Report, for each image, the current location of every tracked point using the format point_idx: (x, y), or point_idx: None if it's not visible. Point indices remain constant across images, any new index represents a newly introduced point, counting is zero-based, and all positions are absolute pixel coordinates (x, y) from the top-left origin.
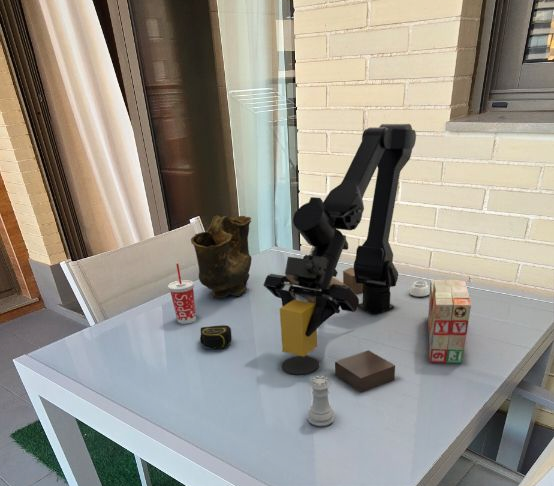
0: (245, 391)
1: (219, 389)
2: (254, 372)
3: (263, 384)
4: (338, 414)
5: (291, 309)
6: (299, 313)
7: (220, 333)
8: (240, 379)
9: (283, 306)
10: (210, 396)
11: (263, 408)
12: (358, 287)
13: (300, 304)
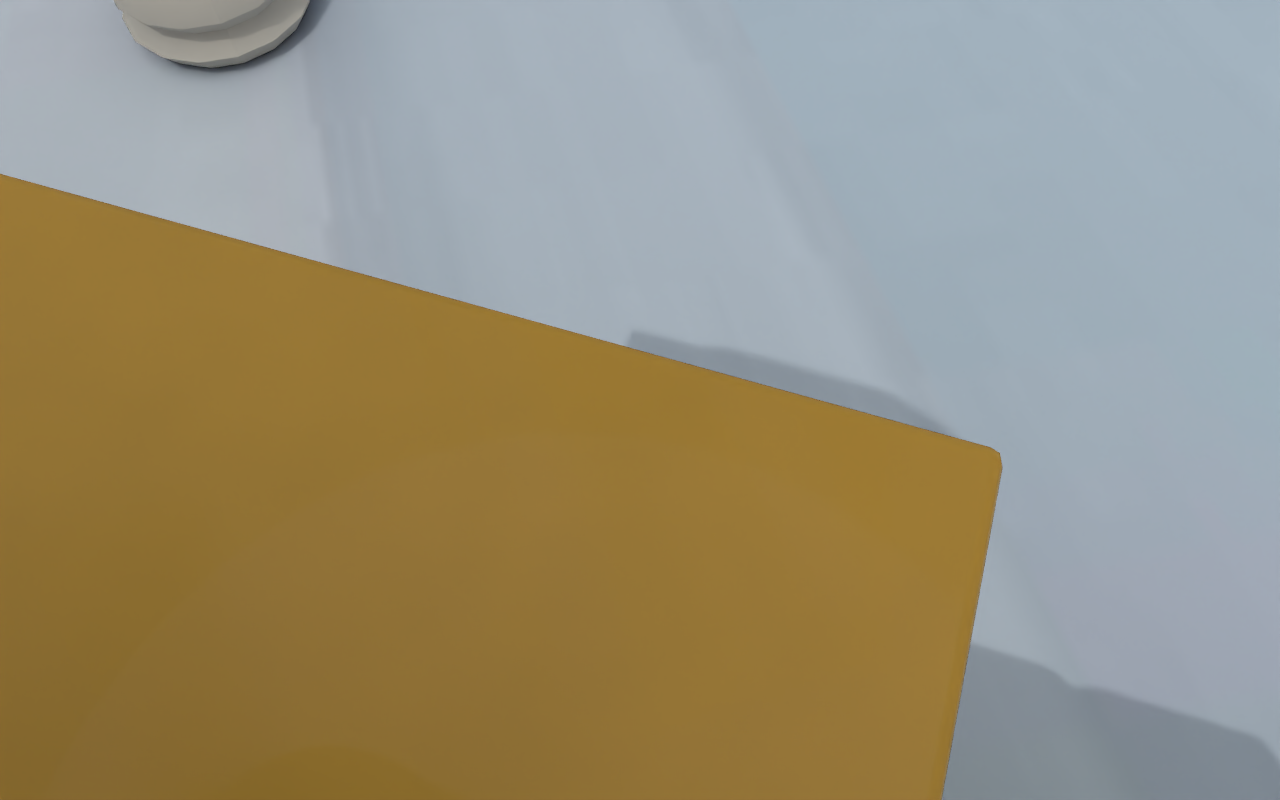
0: (962, 241)
1: (1225, 230)
2: (1068, 607)
3: (847, 382)
4: (99, 90)
5: (402, 397)
6: (62, 204)
7: None
8: (1137, 432)
9: (909, 712)
10: (1226, 123)
11: (695, 58)
12: None
13: None
